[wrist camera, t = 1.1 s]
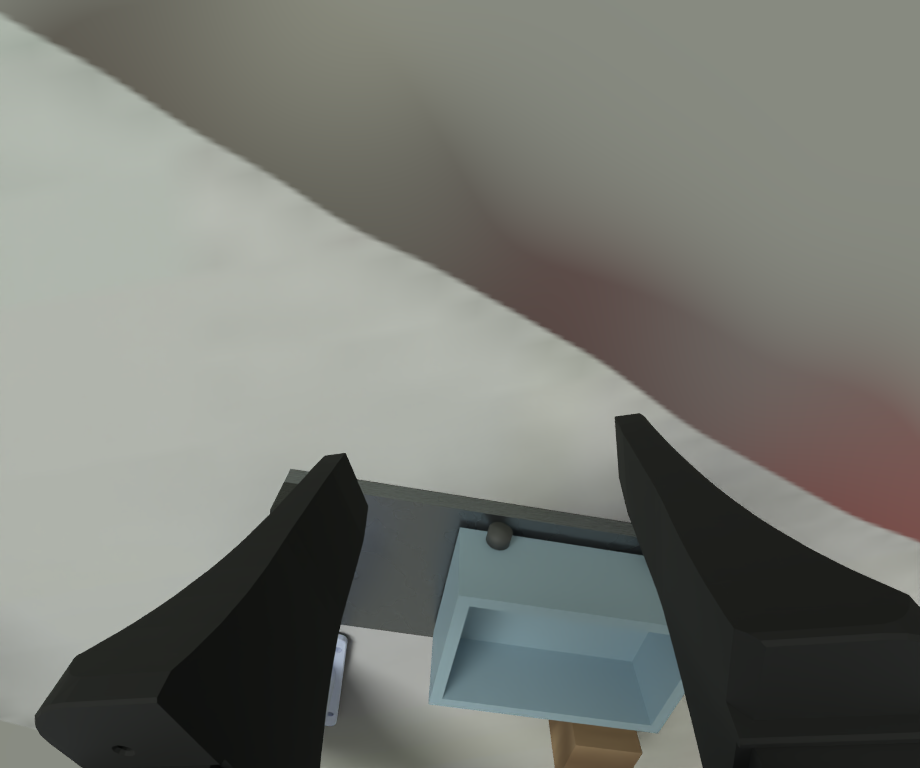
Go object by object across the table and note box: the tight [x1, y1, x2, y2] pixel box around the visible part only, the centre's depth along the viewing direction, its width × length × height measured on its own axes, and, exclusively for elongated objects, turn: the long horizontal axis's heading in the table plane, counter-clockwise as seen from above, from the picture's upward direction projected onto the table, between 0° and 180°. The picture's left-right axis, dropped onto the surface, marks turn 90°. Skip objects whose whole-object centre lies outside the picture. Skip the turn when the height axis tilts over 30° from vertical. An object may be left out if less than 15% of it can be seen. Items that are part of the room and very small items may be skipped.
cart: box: [429, 522, 685, 733], centre depth 26 cm, size 10×12×4 cm
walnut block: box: [549, 720, 642, 768], centre depth 32 cm, size 4×4×4 cm
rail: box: [270, 469, 644, 637], centre depth 28 cm, size 10×22×3 cm, turn 79°
